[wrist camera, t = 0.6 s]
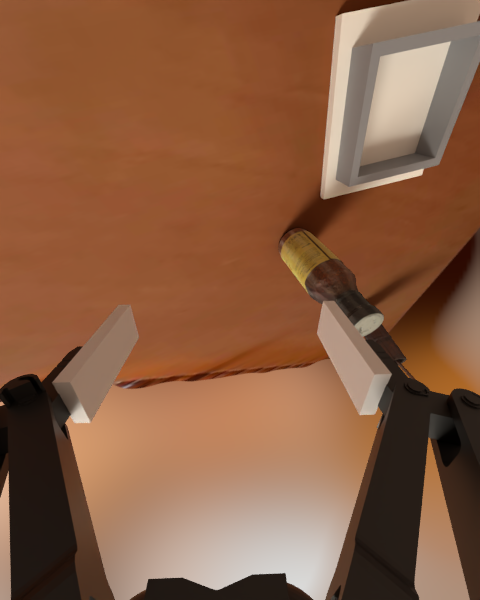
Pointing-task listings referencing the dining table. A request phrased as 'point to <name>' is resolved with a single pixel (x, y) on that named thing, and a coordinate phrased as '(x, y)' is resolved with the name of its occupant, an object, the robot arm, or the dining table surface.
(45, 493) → the robot arm
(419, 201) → the dining table surface
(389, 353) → the butter churn
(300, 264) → the sauce bottle
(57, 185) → the dining table surface
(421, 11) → the bottle stand
